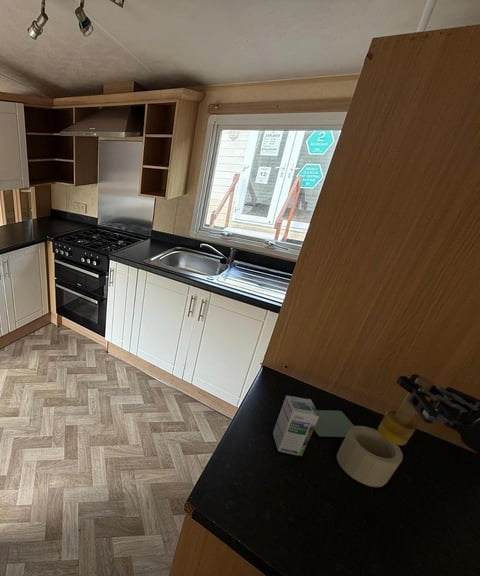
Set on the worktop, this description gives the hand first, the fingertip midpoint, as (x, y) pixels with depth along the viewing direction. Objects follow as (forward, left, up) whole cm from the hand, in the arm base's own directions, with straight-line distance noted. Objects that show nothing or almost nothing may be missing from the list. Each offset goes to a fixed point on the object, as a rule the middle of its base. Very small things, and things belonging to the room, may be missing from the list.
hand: (405, 378), depth 66 cm
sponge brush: (-1, +3, -14) cm, 14 cm away
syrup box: (+15, -5, -28) cm, 32 cm away
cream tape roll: (0, +1, -28) cm, 28 cm away
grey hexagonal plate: (-1, -12, -28) cm, 30 cm away
